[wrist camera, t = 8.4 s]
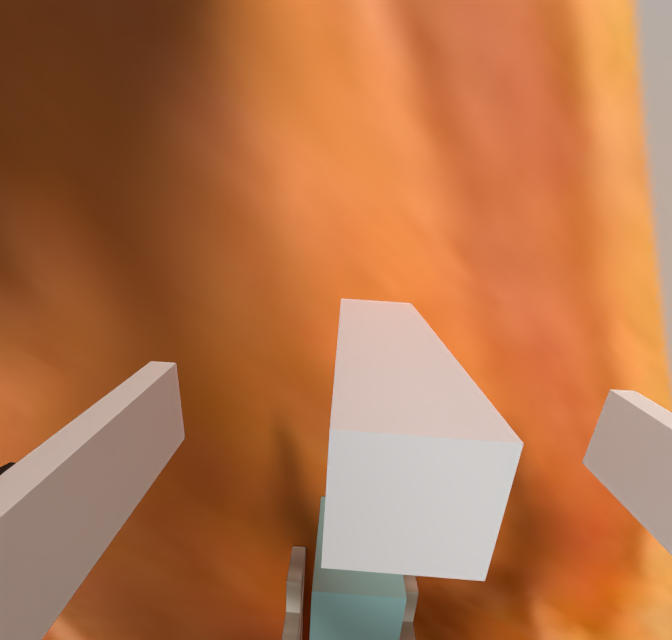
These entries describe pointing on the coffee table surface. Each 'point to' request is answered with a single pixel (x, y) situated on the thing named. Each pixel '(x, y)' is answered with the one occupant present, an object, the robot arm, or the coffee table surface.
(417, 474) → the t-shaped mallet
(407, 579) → the shelf
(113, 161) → the coffee table surface
